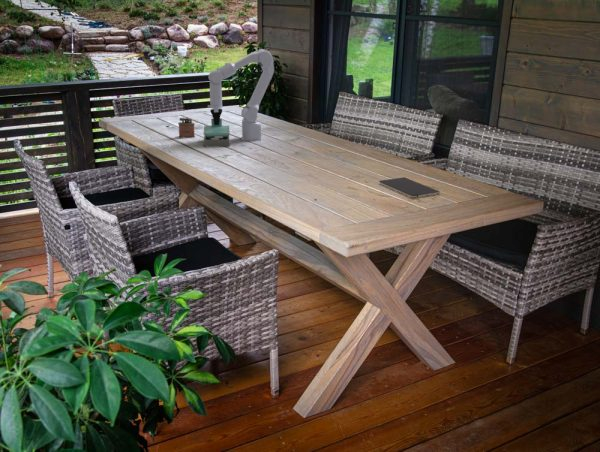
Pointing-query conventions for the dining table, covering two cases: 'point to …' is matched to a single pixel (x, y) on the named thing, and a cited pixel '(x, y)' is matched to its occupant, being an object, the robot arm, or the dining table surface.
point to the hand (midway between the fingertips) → (216, 124)
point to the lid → (216, 129)
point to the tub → (216, 141)
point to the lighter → (186, 128)
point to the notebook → (408, 187)
